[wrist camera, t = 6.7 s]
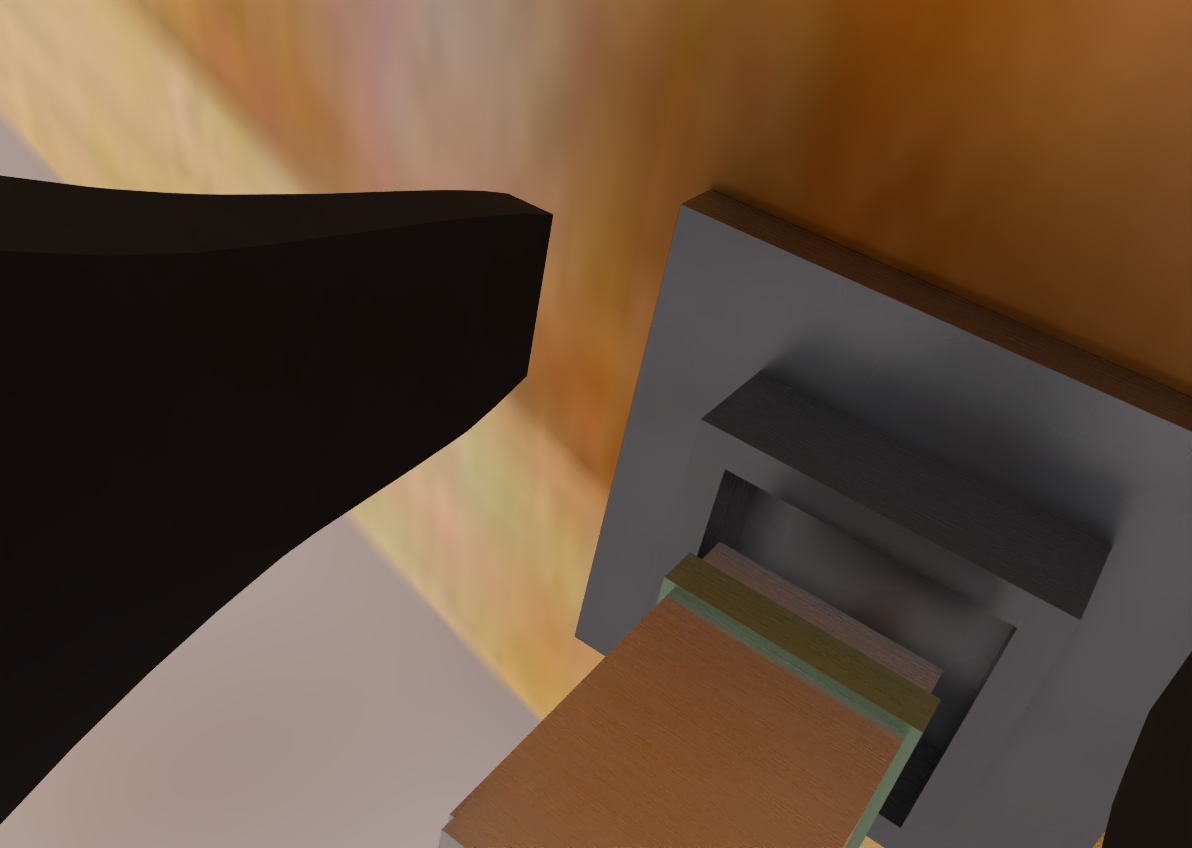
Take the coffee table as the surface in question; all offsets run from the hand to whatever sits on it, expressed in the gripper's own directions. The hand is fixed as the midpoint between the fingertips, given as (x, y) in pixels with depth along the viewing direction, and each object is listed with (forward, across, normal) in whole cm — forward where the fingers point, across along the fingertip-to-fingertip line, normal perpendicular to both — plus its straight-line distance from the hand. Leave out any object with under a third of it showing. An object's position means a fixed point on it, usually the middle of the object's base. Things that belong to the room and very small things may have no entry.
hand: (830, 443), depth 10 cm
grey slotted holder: (+7, 0, +6) cm, 9 cm away
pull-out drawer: (+3, 0, +6) cm, 7 cm away
